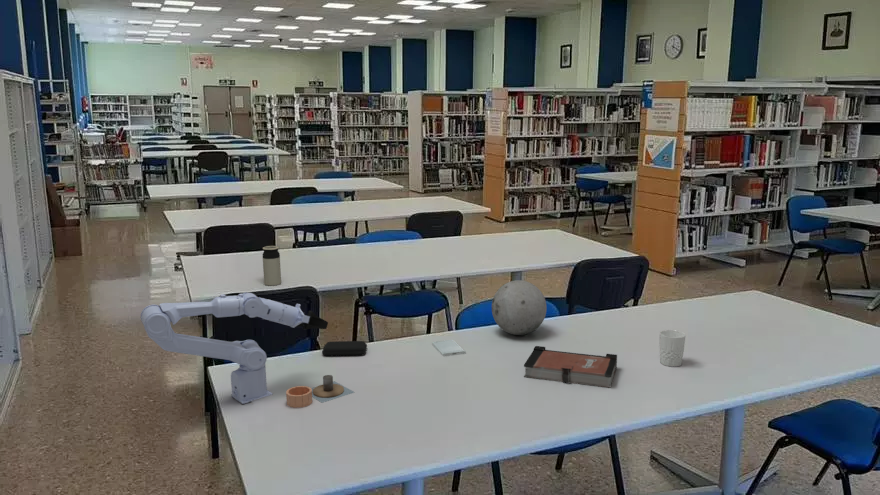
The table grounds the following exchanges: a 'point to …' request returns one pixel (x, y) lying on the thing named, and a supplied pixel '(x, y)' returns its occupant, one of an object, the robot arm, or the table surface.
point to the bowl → (299, 396)
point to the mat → (346, 392)
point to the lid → (328, 388)
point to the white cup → (671, 347)
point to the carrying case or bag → (344, 348)
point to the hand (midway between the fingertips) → (321, 324)
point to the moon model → (518, 307)
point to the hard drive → (448, 348)
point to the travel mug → (271, 266)
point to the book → (571, 367)
